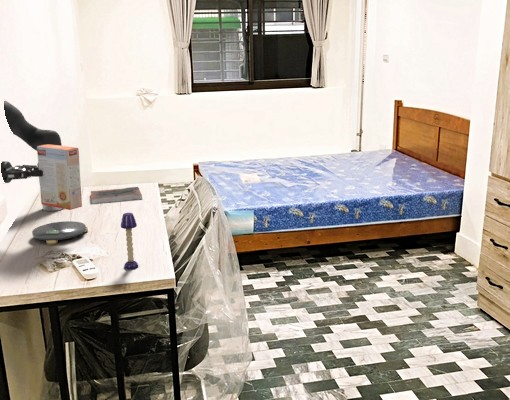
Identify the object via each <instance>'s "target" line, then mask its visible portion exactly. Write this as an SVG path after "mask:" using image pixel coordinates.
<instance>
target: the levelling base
mask: <svg viewBox="0 0 510 400" xmlns="http://www.w3.org/2000/svg"><path fill="white" fill-rule="evenodd" d="M88 228H89V227H88V226H87V225H86V224H85V223H83V222H80V221H71V220H70V221H69V220H68V221H64V220H63V221H57V222H50V223H46V224H43V225H40V226H37V227H35V228H34V229H32V231H31V232H32V233H31V234H32V237H33V238H34V239H36V240H41V241H46V245H47V246H56V245H58V244H59V242H58V240H59V241H61V240H65V239H66V240H67V239H71V238H74V237H77V236H80V235H84V234H87V233H88V232H89V229H88Z"/></svg>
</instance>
